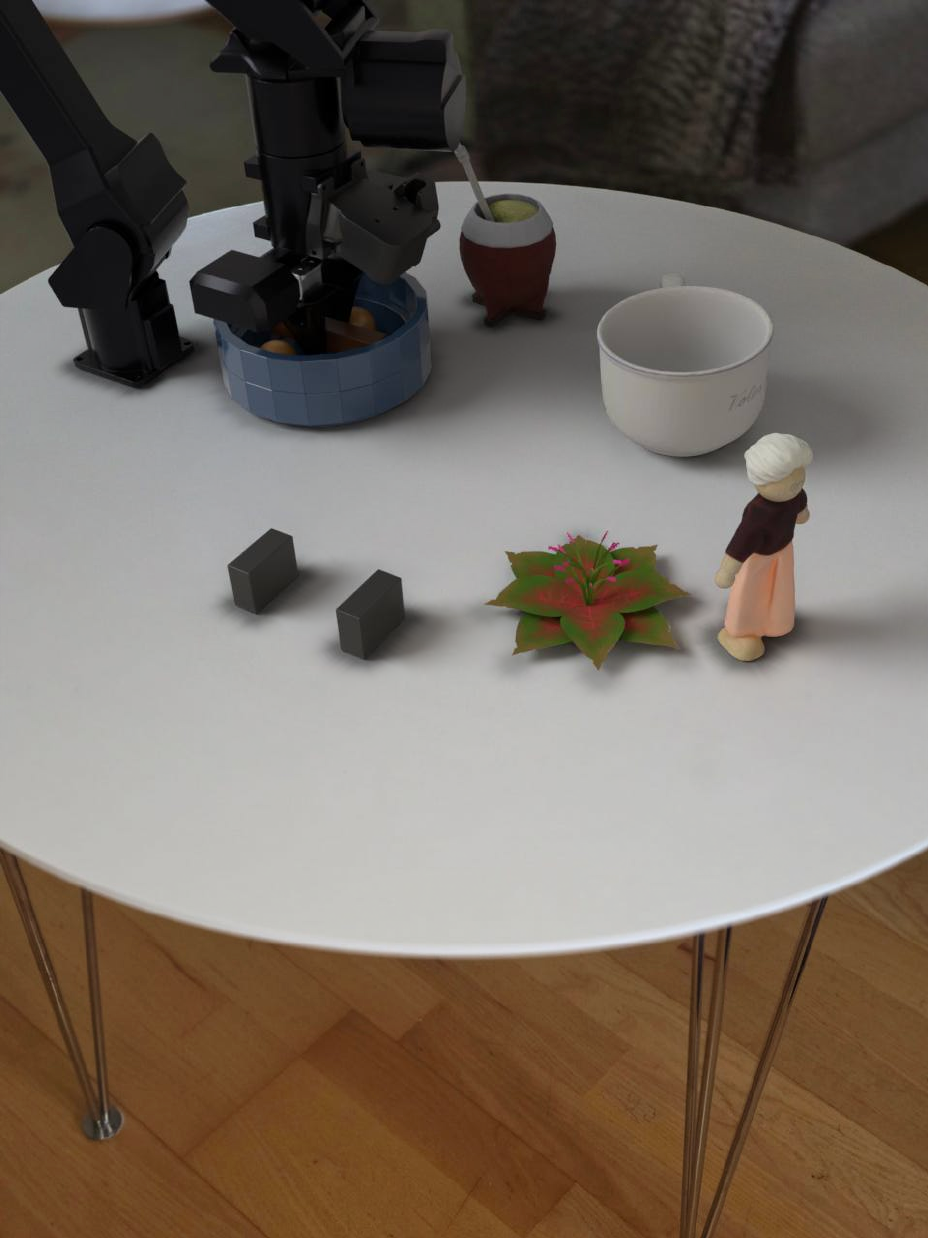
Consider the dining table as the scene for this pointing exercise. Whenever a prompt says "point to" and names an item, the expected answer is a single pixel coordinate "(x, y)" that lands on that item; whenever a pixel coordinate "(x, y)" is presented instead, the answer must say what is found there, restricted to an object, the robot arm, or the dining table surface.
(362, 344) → the stick
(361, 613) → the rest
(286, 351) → the bead
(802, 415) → the dining table surface
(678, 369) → the teacup
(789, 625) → the grandmother figurine
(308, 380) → the bowl
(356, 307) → the bead
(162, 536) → the dining table surface
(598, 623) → the red green leafy plant
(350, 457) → the dining table surface
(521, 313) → the mate gourd
